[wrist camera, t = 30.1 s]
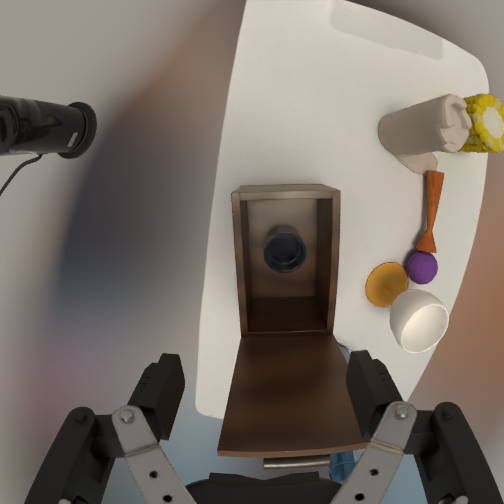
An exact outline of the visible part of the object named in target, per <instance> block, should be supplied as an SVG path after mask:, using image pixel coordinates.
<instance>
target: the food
mask: <svg viewBox="0 0 504 504" xmlns="http://www.w3.org/2000/svg"><path fill="white" fill-rule="evenodd" d="M463 100H464V101H465V102H466V105H467V107H466V108H465V110H466V112H467V114H468V116H469V118H470V120H471V123H472V127H471V128H470V129H468V131H469V135H468V138H467V140H466V142H465V143H464V145H463V146H462V148H461V149H460V150H458V152H459V151H463V152H468V153H469V152H477V153H480V152H481V153H483V152H484V153H487V152H503V151H504V106H503V105H502V104H501V102H500V100H499V99H498V98H497V97H493V96H492V95H490V94H487V95H486V94H482V93H481V94H477V95H476V96H472V97H471V96H470V97H466V98H463Z"/></svg>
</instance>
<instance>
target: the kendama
mask: <svg viewBox="0 0 504 504" xmlns="http://www.w3.org/2000/svg"><path fill="white" fill-rule="evenodd" d="M443 179H444V173H442V172H438V171H432V170H427V228H426V231H425V233H424V234H423V236H422V237H421V239H420V241H419V242H418V244H417V245H416V247H415V248H416V249H418V250H421V251H417V252H416V253H414V254H413V255H411V257H410V258H409V260H408V263H407V272H408V275H409V277H410V279H411V280H412V281H413V282H415V283H417V284H427V283H429V282H430V281H432V280H433V278H434V277H435V276H436V274H437V269H438V266H437V261H436V259H435V257H434V256H433V255H432V254H431V253H436V247H435V242H434V238H433V233H432V229H433V225H434V221H435V217H436V213H437V208H438V204H439V199H440V194H441V189H442V184H443ZM429 252H430V253H429Z"/></svg>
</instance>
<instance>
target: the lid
mask: <svg viewBox="0 0 504 504" xmlns="http://www.w3.org/2000/svg"><path fill="white" fill-rule="evenodd" d="M347 368H348V365H347V362H346V360H345V358H344V356H343V354H342V352H341V349H340V347H339V345H338V343H337V341H336V339H335V337H334V335H333V334H332V335H317V336H299V337H271V338H241V340H240V345H239V350H238V354H237V359H236V364H235V369H234V373H233V378H232V383H231V388H230V392H229V397H228V402H227V406H226V411H225V416H224V421H223V425H222V430H221V435H220V439H219V444H218V449H217V452H218V456H227V457H256V458H259V457H260V458H261V457H262V458H264V471H279V470H299V469H312V468H322V467H329V466H330V461H331V456H330V453H338V452H345V451H351V450H357V449H363V448H366V446H367V444H368V443H369V441H370V440H371V438H370V437H367V438H362V435H361V432H360V429H359V425H358V422H357V419H356V416H355V413H354V409H353V406H352V403H351V400H350V397H349V394H348V391H347V387H346V373H347Z"/></svg>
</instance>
